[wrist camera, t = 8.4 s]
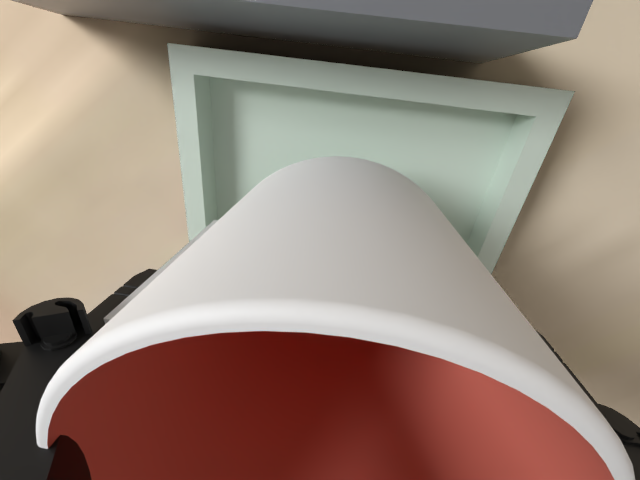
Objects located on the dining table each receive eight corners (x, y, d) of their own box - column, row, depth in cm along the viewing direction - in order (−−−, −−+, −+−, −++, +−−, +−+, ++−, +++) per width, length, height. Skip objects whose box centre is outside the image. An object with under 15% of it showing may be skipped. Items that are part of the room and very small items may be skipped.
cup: (195, 222, 14) (-78, 442, 5) (379, 98, 11) (510, 99, 2) (309, 354, 17) (264, 630, 8) (476, 288, 14) (692, 615, 5)
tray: (192, 50, 13) (167, 42, 12) (542, 92, 13) (574, 91, 11) (213, 313, 21) (199, 335, 19) (436, 348, 20) (445, 374, 18)
